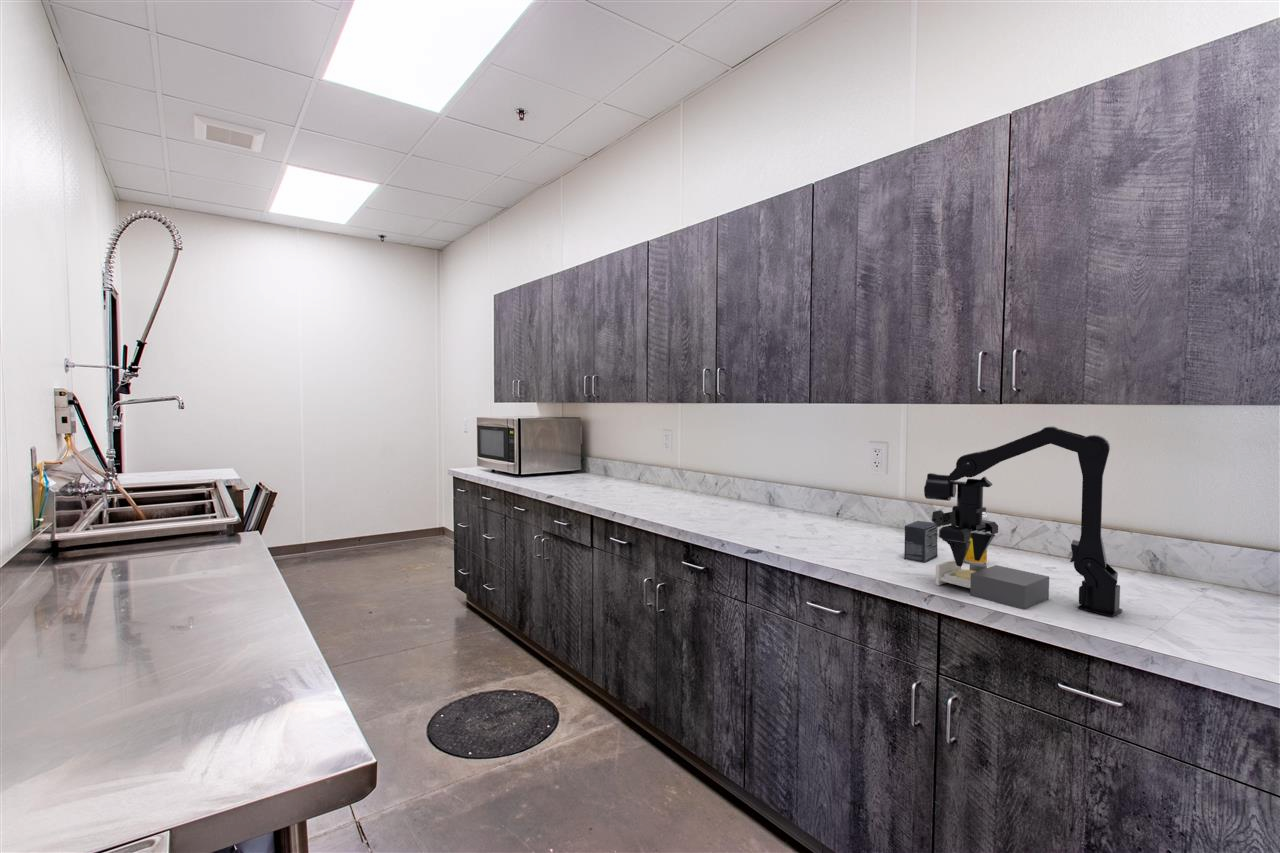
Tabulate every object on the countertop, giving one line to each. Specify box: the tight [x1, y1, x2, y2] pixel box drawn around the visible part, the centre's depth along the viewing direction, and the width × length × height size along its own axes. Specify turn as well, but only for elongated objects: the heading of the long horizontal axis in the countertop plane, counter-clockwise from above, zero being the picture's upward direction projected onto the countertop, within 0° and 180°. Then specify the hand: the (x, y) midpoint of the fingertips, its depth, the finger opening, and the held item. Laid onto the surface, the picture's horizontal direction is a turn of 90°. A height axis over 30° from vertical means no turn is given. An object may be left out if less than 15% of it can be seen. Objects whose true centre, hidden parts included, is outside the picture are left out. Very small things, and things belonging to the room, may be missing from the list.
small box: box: [903, 520, 939, 564], centre depth 178 cm, size 11×6×10 cm, turn 134°
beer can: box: [964, 512, 989, 565], centre depth 172 cm, size 6×6×15 cm
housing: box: [969, 564, 1050, 610], centre depth 142 cm, size 12×13×5 cm
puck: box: [969, 563, 988, 571], centre depth 157 cm, size 4×4×4 cm
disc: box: [955, 568, 977, 580], centre depth 150 cm, size 6×6×2 cm
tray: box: [935, 559, 971, 589], centre depth 150 cm, size 12×11×5 cm
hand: (968, 563), depth 150 cm, fingers open, 9 cm apart
